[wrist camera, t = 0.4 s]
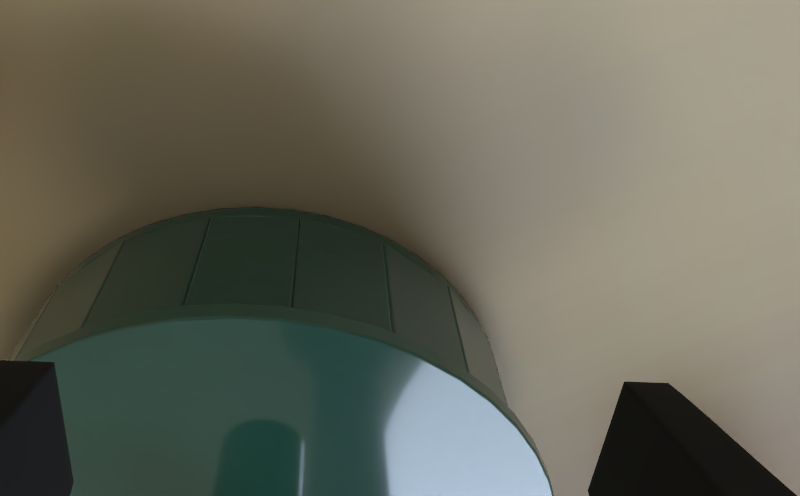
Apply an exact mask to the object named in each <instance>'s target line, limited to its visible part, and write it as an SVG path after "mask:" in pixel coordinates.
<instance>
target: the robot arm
mask: <svg viewBox="0 0 800 496" xmlns="http://www.w3.org/2000/svg"><path fill="white" fill-rule="evenodd" d="M73 483H74V480H73V474H72V468H71V462H70V456H69V450H68V444H67V437H66V431H65V425H64V419H63V413H62V407H61V401H60V394H59V388H58V382H57V376H56V370H55V364H54V362H38V361H9V360H1V361H0V496H70V494H71V490H72V486H73ZM588 492H589V496H797V495H795V494H794V493H793V492H792V491H791V490H790V489H789V488H787V487H786V486H785V485H784V484H783V483H782V482H781V481H779V480H778V479H777V478H776V477H775V476H774V475H773V474H771V473H770V472H769V471H768V470H767V469H766V468H765V467H764V466H762V465H761V464H760V463H759V462H758V461H757V460H756V459H754V458H753V457H752V456H751V455H750V454H749V453H748V452H747V451H746V450H744V449H743V448H742V447H741V446H740V445H739V444H738V443H737V442H735V441H734V440H733V439H732V438H731V437H730V436H729V435H728V434H727V433H725V432H724V431H723V430H722V429H721V428H720V427H719V426H718V425H716V424H715V423H714V422H713V421H712V420H711V419H710V418H709V417H707V416H706V415H705V414H704V413H703V412H702V411H701V410H700V409H698V408H697V407H696V406H695V405H694V404H693V403H692V402H690V401H689V400H688V399H687V398H686V397H684V396H683V395H682V394H681V393H680V392H678V391H677V390H676V389H675V388H674V387H672V386H671V385H670V384H669V383H647V382H624V384H623V387H622V390H621V393H620V396H619V399H618V402H617V405H616V408H615V411H614V414H613V417H612V420H611V423H610V426H609V429H608V432H607V435H606V438H605V441H604V444H603V447H602V450H601V453H600V456H599V459H598V462H597V465H596V468H595V471H594V474H593V477H592V480H591V483H590V486H589V489H588Z"/></svg>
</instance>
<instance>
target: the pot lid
mask: <svg viewBox="0 0 800 496" xmlns="http://www.w3.org/2000/svg"><path fill="white" fill-rule="evenodd" d="M13 361H38V362H54V364H55V370H56V376H57V382H58V388H59V394H60V401H61V407H62V413H63V419H64V425H65V431H66V437H67V444H68V450H69V456H70V462H71V468H72V474H73V480H74V483H73V486H72V490H71V494H70V496H554V494H553V490H552V486H551V482H550V479H549V475H548V472H547V469H546V466H545V464H544V462H543V460H542V458H541V456H540V454H539V451H538V449H537V447H536V445H535V443H534V441H533V439H532V438H531V436H530V435H529V433H528V432H527V431H526V429H525V428H524V426H523V425H522V424H521V422H520V421H519V419H518V418H517V416H516V415H515V414H514V413H513V412H512V411H511V410H510V409H509V408H508V407H507V406H506V404H505V403H504V402H503V401H502V400H501V399H500V398H499V397H498V396H497V395H496V394H495V393H494V392H493V391H492V390H491V389H490V388H489V387H487V386H486V385H485V384H483V383H482V382H481V381H479V380H478V379H477V378H475V377H474V376H473V375H471V374H470V373H469V372H467V371H466V370H465V369H463V368H462V367H461V366H459V365H458V364H456V363H455V362H453V361H451V360H449V359H447V358H446V357H444V356H442V355H440V354H438V353H437V352H435V351H433V350H431V349H429V348H428V347H426V346H424V345H422V344H420V343H418V342H415V341H413V340H410V339H408V338H406V337H403V336H401V335H398V334H396V333H393V332H391V331H388V330H386V329H383V328H381V327H378V326H375V325H371V324H367V323H364V322H360V321H357V320H353V319H349V318H346V317H342V316H339V315H335V314H330V313H324V312H318V311H312V310H306V309H300V308H294V307H288V306H278V305H260V304H242V303H222V304H202V305H182V306H175V307H169V308H162V309H156V310H150V311H144V312H137V313H131V314H128V315H124V316H120V317H117V318H113V319H110V320H106V321H102V322H99V323H95V324H92V325H88V326H84V327H82V328H79V329H77V330H75V331H72V332H70V333H67V334H65V335H63V336H60V337H58V338H55V339H53V340H51V341H48V342H46V343H43V344H41V345H39V346H37V347H36V348H34V349H32V350H31V351H29V352H27V353H25V354H24V355H22V356H20V357H19V358H17V359H15V360H13Z"/></svg>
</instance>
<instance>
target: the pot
mask: <svg viewBox="0 0 800 496" xmlns="http://www.w3.org/2000/svg"><path fill="white" fill-rule="evenodd" d="M222 303H242V304H260V305H278V306H288V307H294V308H300V309H306V310H312V311H318V312H324V313H330V314H335V315H339V316H342V317H346V318H349V319H353V320H357V321H360V322H364V323H367V324H371V325H375V326H378V327H381V328H383V329H386V330H388V331H391V332H393V333H396V334H398V335H401V336H403V337H406V338H408V339H410V340H413V341H415V342H418V343H420V344H422V345H424V346H426V347H428V348H429V349H431V350H433V351H435V352H437V353H438V354H440V355H442V356H444V357H446V358H447V359H449V360H451V361H453V362H455V363H456V364H458V365H459V366H461V367H462V368H463V369H465V370H466V371H467V372H469V373H470V374H471V375H473V376H474V377H475V378H477V379H478V380H479V381H481V382H482V383H483V384H485V385H486V386H487V387H489V388H490V389H491V390H492V391H493V392H494V393H495V394H496V395H497V396H498V397H499V398H500V399H501V400H502V401H503V402H504V403H505V404H506V406H507V407H508V405H507V402H506V398H505V395H504V391H503V388H502V384H501V381H500V377H499V374H498V370H497V367H496V363H495V360H494V356H493V353H492V349H491V346H490V342H489V341H488V337H487V336H486V334H485V333H484V332H483V330H482V328H481V325H480V323H479V321H478V319H477V318H476V316H475V315H474V313H473V312H472V310H471V309H470V307H469V306H468V304H467V303H466V301H465V300H464V299H463V297H462V296H461V295H460V294H459V293H458V292H457V291H456V290H455V289H454V287H453V286H452V285H451V284H450V283H449V282H448V281H447V280H446V279H445V278H444V277H443V276H442V275H441V274H440V273H438V272H437V271H436V270H435V269H433V268H432V267H431V266H430V265H429V264H427V263H426V262H425V261H424V260H422V259H421V258H420V257H418V256H417V255H415V254H413V253H412V252H410V251H408V250H407V249H405V248H404V247H402V246H400V245H399V244H397V243H395V242H394V241H392V240H390V239H388V238H385V237H383V236H381V235H379V234H376V233H374V232H372V231H370V230H368V229H365V228H363V227H360V226H357V225H354V224H351V223H348V222H344V221H341V220H338V219H335V218H332V217H328V216H323V215H318V214H312V213H307V212H302V211H297V210H288V209H274V208H260V207H252V208H228V209H217V210H210V211H204V212H198V213H192V214H185V215H182V216H178V217H175V218H171V219H168V220H164V221H161V222H158V223H154V224H151V225H148V226H146V227H144V228H142V229H139V230H137V231H135V232H132V233H130V234H128V235H125V236H123V237H121V238H119V239H117V240H115V241H114V242H112V243H110V244H109V245H107V246H106V247H104V248H102V249H101V250H99V251H97V252H96V253H94V254H92V255H91V256H90V257H89V258H87V259H86V260H85V261H84V262H83V263H81V264H80V265H79V266H78V267H76V268H75V269H74V270H73V271H72V272H70V273H69V274H68V275H67V276H66V277H65V279H64V280H63V281H61V283H60V284H59V285H58V286H57V287H56V288H55V290H54V291H53V292H52V293H51V294H50V296H49V297H48V299H47V300H46V302H45V304H44V305H43V307H42V308H41V310H40V312H39V313H38V314H37V316H36V317H35V319H34V320H33V322H32V323H31V325H30V326H29V327H28V329H27V330H26V332H25V333H24V335H23V336H22V338H21V339H20V341H19V343H18V344H17V346H16V348H15V349H14V351H13V353H12V354H11V356H10V358H9V359H8V360H9V361H13V360H15V359H17V358H19V357H20V356H22V355H24V354H25V353H27V352H29V351H31V350H32V349H34V348H36V347H37V346H39V345H41V344H43V343H46V342H48V341H51V340H53V339H55V338H58V337H60V336H63V335H65V334H67V333H70V332H72V331H75V330H77V329H79V328H82V327H84V326H88V325H92V324H95V323H99V322H102V321H106V320H110V319H113V318H117V317H120V316H124V315H128V314H131V313H137V312H144V311H150V310H156V309H162V308H169V307H175V306H182V305H202V304H222Z"/></svg>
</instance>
